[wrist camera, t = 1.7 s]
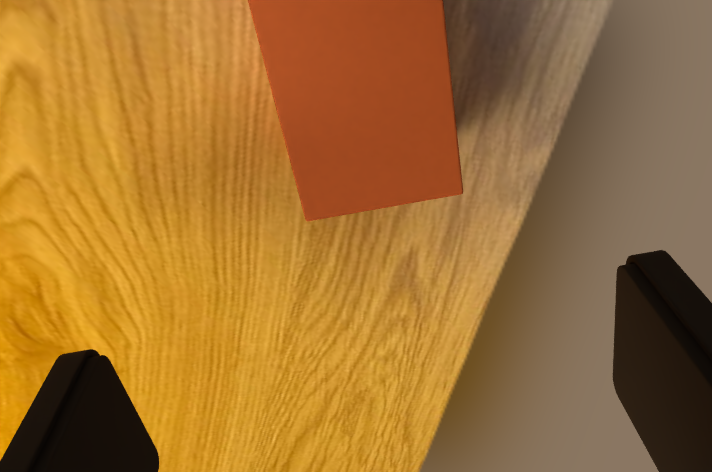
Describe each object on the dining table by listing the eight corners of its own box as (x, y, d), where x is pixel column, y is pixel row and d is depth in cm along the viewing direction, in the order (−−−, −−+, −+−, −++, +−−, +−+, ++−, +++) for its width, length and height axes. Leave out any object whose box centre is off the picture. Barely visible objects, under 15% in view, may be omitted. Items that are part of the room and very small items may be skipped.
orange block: (413, -115, 22) (431, -109, 18) (443, 142, 27) (463, 194, 23) (249, -80, 22) (230, -66, 18) (310, 166, 28) (306, 222, 23)
